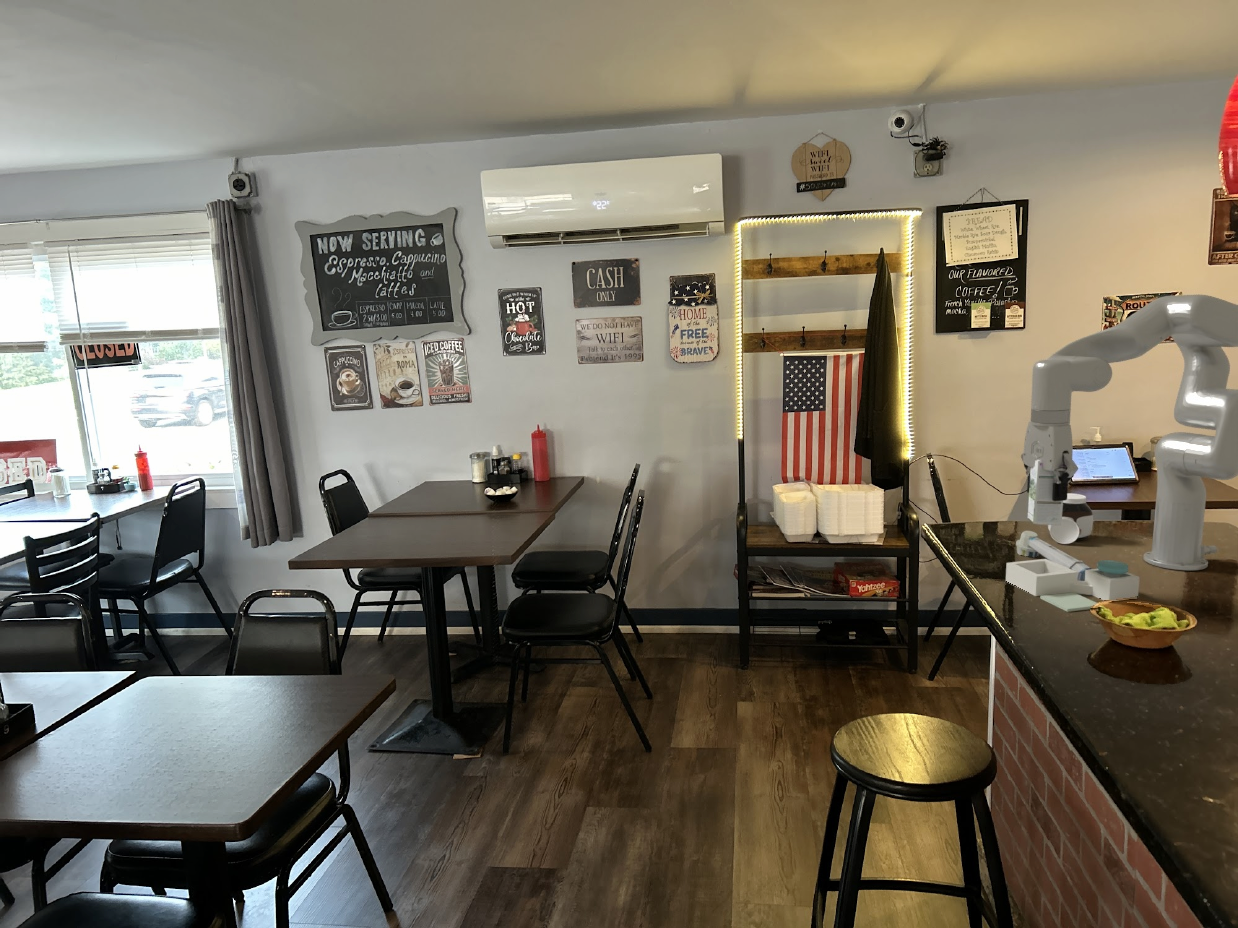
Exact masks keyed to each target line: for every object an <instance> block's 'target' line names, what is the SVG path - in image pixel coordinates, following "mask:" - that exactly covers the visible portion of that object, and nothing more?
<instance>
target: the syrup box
mask: <svg viewBox="0 0 1238 928" xmlns="http://www.w3.org/2000/svg"><path fill="white" fill-rule="evenodd" d="M1059 468H1063V465H1060V466H1059ZM1059 475H1060V476H1061V475H1062V472H1059ZM1053 483H1056V482H1055V479H1054V476H1053V473H1052V471H1045V470H1043V469H1042V460H1035V467H1031V471H1030V486H1029V493H1028V503H1027V516H1026V517H1027V518H1026V519H1027V520H1028V521H1030V522H1031V523H1032V524H1035V525H1041V526H1042V525H1043V526H1048V525H1061V521H1062V510H1063V501H1053V500H1052V492H1053Z"/></svg>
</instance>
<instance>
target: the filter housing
mask: <svg viewBox="0 0 1238 928" xmlns="http://www.w3.org/2000/svg"><path fill="white" fill-rule="evenodd" d="M1077 573H1078V572H1076V571H1074V570H1071V569H1069V568H1066V567H1064V566H1062V565H1059V564H1057V563H1054V562H1052V561H1050V560H1048V559H1047V558H1041V559H1033V560H1032V559H1031V560H1022V561H1021V560H1020V561H1012V562H1006V568H1005V582H1006V581H1007V582H1006V583H1008V582H1009V583H1008V584H1010V583H1011V584H1010V585H1012V584H1013V585H1012V586H1014V585H1016V586H1017V587H1016V586H1015V587H1016V588H1018V587H1019V588H1018V589H1020V588H1021V590H1022V589H1023V590H1022V591H1024V590H1025V591H1024V592H1026V591H1027V592H1026V593H1028V592H1029V593H1028V594H1031V595H1033V596H1034V597H1040V596H1044V595H1053V594H1062V593H1071V592H1074V593H1076V594H1078V595H1086V596H1087V595H1088V596H1092V597H1094V598H1097V599H1099V598H1101V599H1100V600H1102V601H1104V600H1116V599H1123V598H1130V597H1135V596H1138V597H1139V587H1140V578H1141V577H1140V576H1138V575H1135V574H1133V573H1130V572H1129V571H1128V572H1127V573H1124V574H1120V577H1118V578H1109V577H1107V576H1104V572H1103V571H1100V570H1098V569H1097V568H1091V569H1090V570H1085V581H1078V580H1077Z"/></svg>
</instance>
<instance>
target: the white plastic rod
mask: <svg viewBox="0 0 1238 928" xmlns="http://www.w3.org/2000/svg"><path fill="white" fill-rule="evenodd" d="M1015 546H1016V552H1017V554H1018V555H1019V556H1020V555H1022V556H1024V557H1026V556H1029V557H1028V558H1031V557H1033V558H1038V557H1039V555H1041V556H1042V557H1043V558H1044V559H1047V560H1050V561H1052V562H1054V563H1057V564H1059V565H1062V566H1064V567H1066V568H1069V569H1071V570H1074V571H1076V572H1078V573H1077V580H1078V581H1085V570H1090V569H1092V567H1090V566H1088V565H1087V563H1086V562H1085V561H1083V560H1079V559H1077V558H1075V557H1073V556H1071V555H1069V554H1067V553H1066V552H1064V551H1062V550H1061V549H1058V548H1057V547H1055V546H1053V545H1052V544H1050V543H1048V542H1046V541H1044V540H1042V539H1040V538H1039V535H1038V533H1036V532H1035V531H1032V530H1023V531H1022V533H1021V534H1020V539H1017V540H1016V542H1015ZM1037 556H1038V557H1037Z"/></svg>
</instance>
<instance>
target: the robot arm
mask: <svg viewBox="0 0 1238 928" xmlns="http://www.w3.org/2000/svg"><path fill="white" fill-rule="evenodd" d="M1170 337H1171V338H1172V339H1173V341H1174V343H1175V344H1176V346H1177V347H1178V348H1179V351H1180V353H1181V354H1182V357H1183V361H1184V362H1183V363H1184V365H1183V366H1184V368H1183V372H1182V376H1181V381H1180V385H1179V388H1178V392H1177V397H1176V400H1175V404H1174V410H1173V417H1174V420H1175V421H1176V422H1177V423H1178V424H1180V425H1182V426H1185V427H1189V428H1195V429H1196V428H1197V429H1203V430H1211V431H1215V434H1214V435H1209V434H1207V435H1206V434H1202V433H1193V432H1187V431H1186V432H1184V431H1183V432H1182V431H1181V432H1178V431H1177V432H1172V433H1168V434H1165V435H1164V436H1162V437H1161V438H1160V439H1159V440H1158V441H1157V443H1156V445H1155V448H1154V460H1155V465H1156V476H1157V479H1156V480H1157V483H1156V484H1157V485H1156V499H1155V510H1154V511H1155V512H1154V524H1153V534H1152V546H1151V551H1147V552H1145V553H1144V554H1143V558H1142V559H1143V561H1145V562H1146V563H1147V564H1149V565H1153V566H1156V567H1160V568H1162V569H1163V568H1164V569H1169V570H1176V571H1177V570H1178V571H1201V570H1205V569H1206V568H1208V566H1209V565H1208V564H1209V561H1208V560H1207V559H1206V558H1204V556H1206V555H1212V554H1216V553H1217V552H1218V547H1217V546H1216V545H1206V546H1205V545H1203V544H1202V542H1203V532H1204V522H1205V512H1206V502H1207V489H1206V485H1205V483H1204V481H1203V479H1202V478H1205V479H1211V480H1212V479H1213V480H1220V481H1227V480H1232V479H1234V478H1236V477H1237V476H1238V389H1234V388H1227V385H1228V382H1229V381H1228V380H1229V376H1230V371H1231V365H1230V361H1229V358H1228V356H1227V354H1226V353H1225V351H1224V349H1223V348H1237V347H1238V304H1236V303H1234V302H1230V301H1227V300H1226V299H1225V300H1224V299H1222V298H1218V297H1216V296H1212V295H1208V294H1184V295H1183V294H1182V295H1181V294H1179V295H1165V296H1161V297H1158V298H1156V299H1154V300H1152V301H1150V302H1148V303H1147V304H1145V305H1144V306H1143V307H1141V308H1140V309H1138V310H1136V311H1135V312H1134V313H1132V314H1130V316H1127V318H1125V319H1124V320H1122V321H1121V322H1119V323H1117V324H1115V325H1114V326H1112V327H1108V328H1106V329H1101V330H1099V331H1097V332H1095V333H1092V334H1089V335H1087V336H1084V337H1082V338H1078V339H1076V340H1073V341H1072V342H1070V343H1068V344H1067V345H1065V346H1063V347H1061V348H1060V349H1058V350H1057V351H1055V353H1053V354H1051V355H1050V356H1049V357H1048V358H1047V359H1041V360H1038V361H1036V362H1034V364H1033V366H1032V376H1031V377H1032V379H1031V382H1032V383H1031V401H1030V402H1031V403H1030V405H1031V406H1030V421H1028V424H1027V427H1026V431H1025V438H1024V444H1023V453H1022V454H1021V455H1020V457H1021V461H1022V463H1023V467H1024V468H1025V470H1026V471H1025V474H1026V476H1027V485H1026V492H1027V493H1028V494H1029V486H1030V471H1031V467H1035V460H1042V469H1043V470H1045V471H1052V473H1053V476H1054V479H1055V482H1056V483H1053V492H1052V500H1053V501H1063V500H1067V493H1068V489H1069V483H1071V480H1072V479H1073V478H1074V476H1075V474H1076V473H1077V471H1078V470H1079V466H1078V465H1077V464H1076V463H1075V461H1074V460H1073V455H1074V454H1073V451H1074V449H1073V448H1074V447H1073V434H1072V426H1071V411H1072V409H1071V407H1072V393H1073V392H1084V393H1085V392H1086V393H1093V392H1098V391H1100V390H1102V389H1104V388H1105V387H1107V386H1108V384H1110V382H1111V380H1112V378H1113V370H1112V367H1111V365H1110V364H1114V363H1121V362H1125V361H1129V360H1133V359H1137V358H1139V357H1142V356H1143V355H1145V354H1147V353H1148V352H1149V351H1151V350H1152V349H1153V348H1155V347H1156V346H1158V345H1160V344H1161V343H1162V342H1164V341H1165V340H1167V339H1168V338H1170ZM1060 465H1063V468H1059V466H1060ZM1059 472H1062V475H1061V476H1060V475H1059Z"/></svg>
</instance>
